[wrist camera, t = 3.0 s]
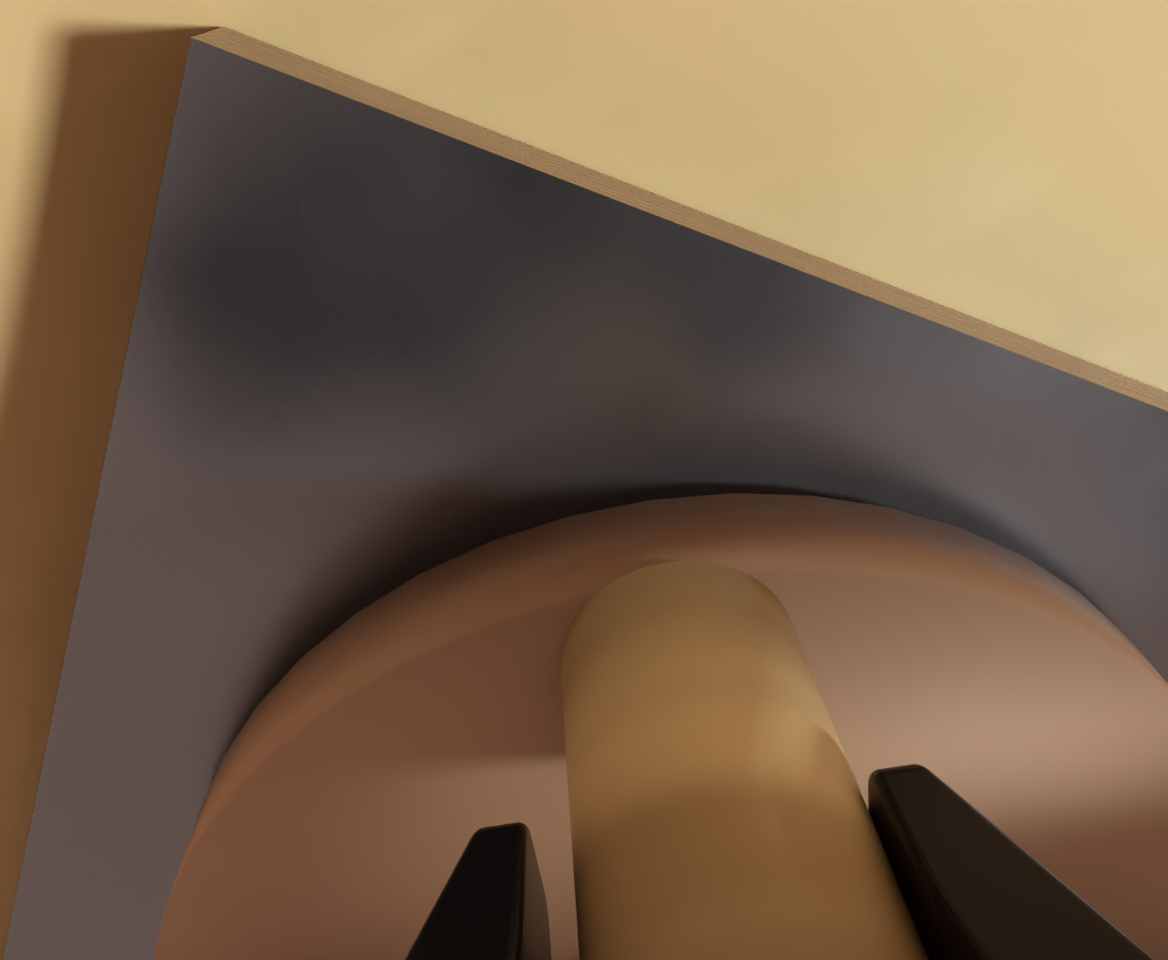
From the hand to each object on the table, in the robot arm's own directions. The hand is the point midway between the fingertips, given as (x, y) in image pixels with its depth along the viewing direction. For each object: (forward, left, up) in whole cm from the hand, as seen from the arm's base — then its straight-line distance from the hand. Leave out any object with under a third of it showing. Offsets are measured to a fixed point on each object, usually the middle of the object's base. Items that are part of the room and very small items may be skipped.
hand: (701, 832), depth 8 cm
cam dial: (-3, +5, -4) cm, 7 cm away
